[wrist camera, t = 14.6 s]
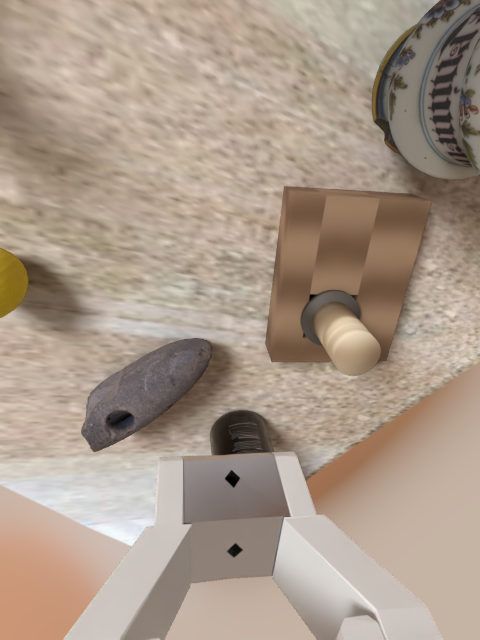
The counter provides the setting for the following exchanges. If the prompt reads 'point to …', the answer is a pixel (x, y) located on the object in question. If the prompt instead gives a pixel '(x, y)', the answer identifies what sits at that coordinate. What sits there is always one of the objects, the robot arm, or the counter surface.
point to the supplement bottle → (240, 434)
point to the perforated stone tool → (143, 391)
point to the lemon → (11, 282)
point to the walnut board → (342, 262)
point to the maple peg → (340, 331)
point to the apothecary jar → (434, 92)
